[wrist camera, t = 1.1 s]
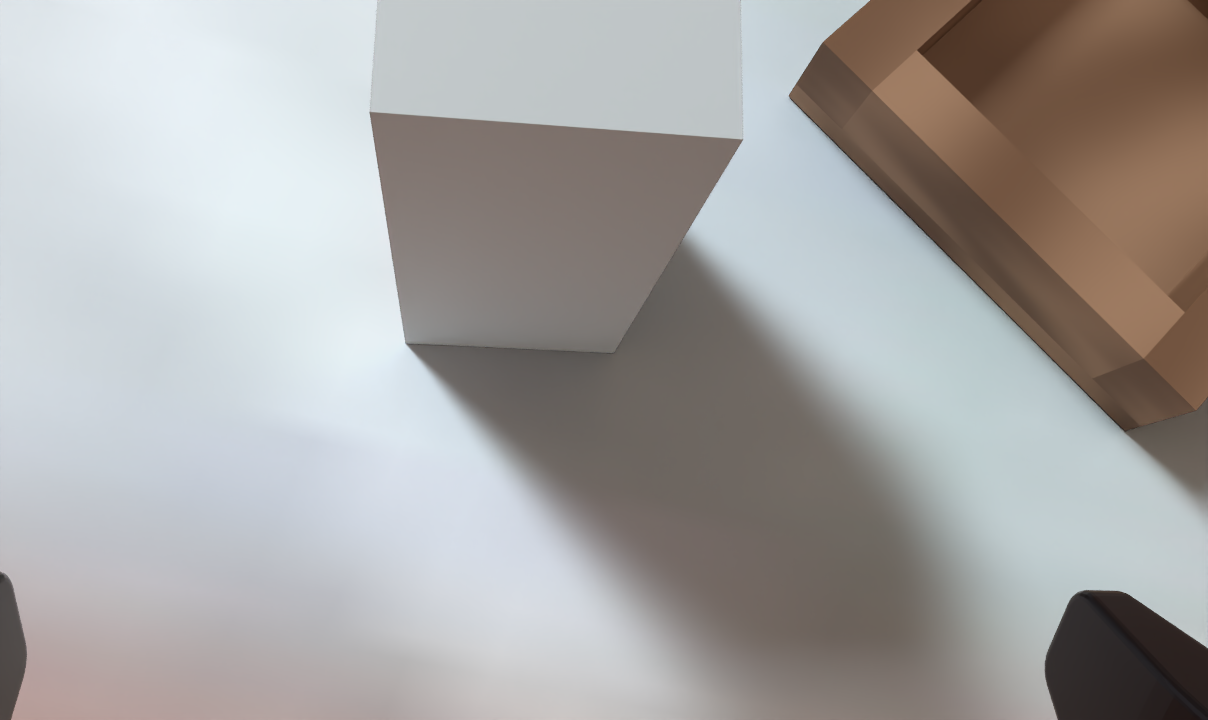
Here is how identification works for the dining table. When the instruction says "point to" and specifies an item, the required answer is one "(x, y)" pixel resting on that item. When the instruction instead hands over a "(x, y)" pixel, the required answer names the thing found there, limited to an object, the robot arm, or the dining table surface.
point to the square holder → (1047, 170)
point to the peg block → (546, 158)
